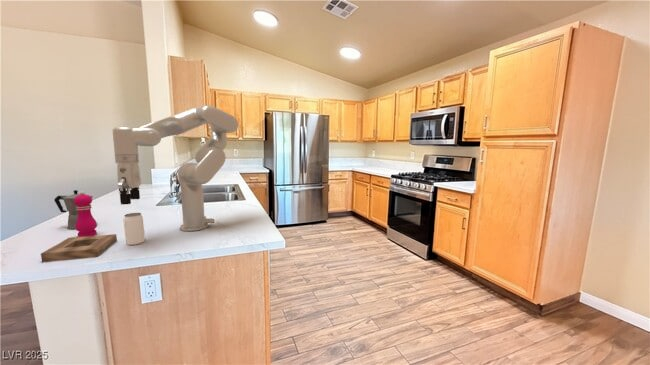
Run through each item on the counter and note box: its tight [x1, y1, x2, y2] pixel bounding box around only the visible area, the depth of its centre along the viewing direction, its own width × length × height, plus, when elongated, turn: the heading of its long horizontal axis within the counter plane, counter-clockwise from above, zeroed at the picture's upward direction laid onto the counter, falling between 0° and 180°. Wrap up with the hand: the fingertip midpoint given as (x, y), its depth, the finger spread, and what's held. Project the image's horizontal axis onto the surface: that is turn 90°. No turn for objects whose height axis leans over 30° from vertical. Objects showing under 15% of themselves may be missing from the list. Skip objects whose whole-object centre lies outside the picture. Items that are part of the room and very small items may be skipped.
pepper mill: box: [74, 190, 98, 237], centre depth 116 cm, size 7×7×20 cm
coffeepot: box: [54, 189, 93, 230], centre depth 128 cm, size 15×9×18 cm, turn 103°
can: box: [123, 212, 146, 246], centre depth 110 cm, size 6×6×12 cm
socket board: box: [40, 233, 118, 263], centre depth 102 cm, size 16×16×3 cm
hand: (130, 201), depth 108 cm, fingers open, 9 cm apart
